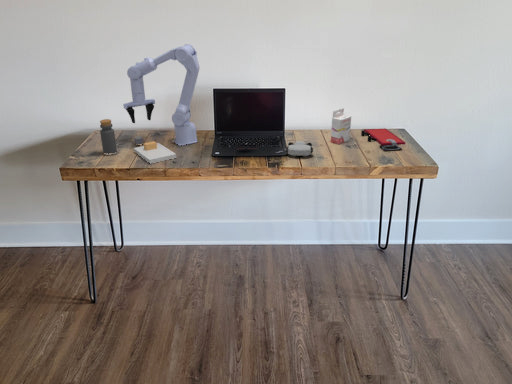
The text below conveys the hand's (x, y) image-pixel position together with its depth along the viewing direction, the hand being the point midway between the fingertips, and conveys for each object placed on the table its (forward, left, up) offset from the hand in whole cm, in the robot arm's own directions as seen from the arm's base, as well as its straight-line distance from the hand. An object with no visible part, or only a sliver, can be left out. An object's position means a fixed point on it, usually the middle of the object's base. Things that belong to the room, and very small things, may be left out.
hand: (141, 121), depth 227 cm
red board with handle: (-91, +67, -10) cm, 113 cm away
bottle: (+19, +8, -10) cm, 23 cm away
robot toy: (-49, +57, -10) cm, 76 cm away
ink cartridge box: (-74, +56, -10) cm, 93 cm away
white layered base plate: (+4, +22, -9) cm, 24 cm away
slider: (+4, +18, -7) cm, 20 cm away
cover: (+4, +5, -10) cm, 12 cm away
